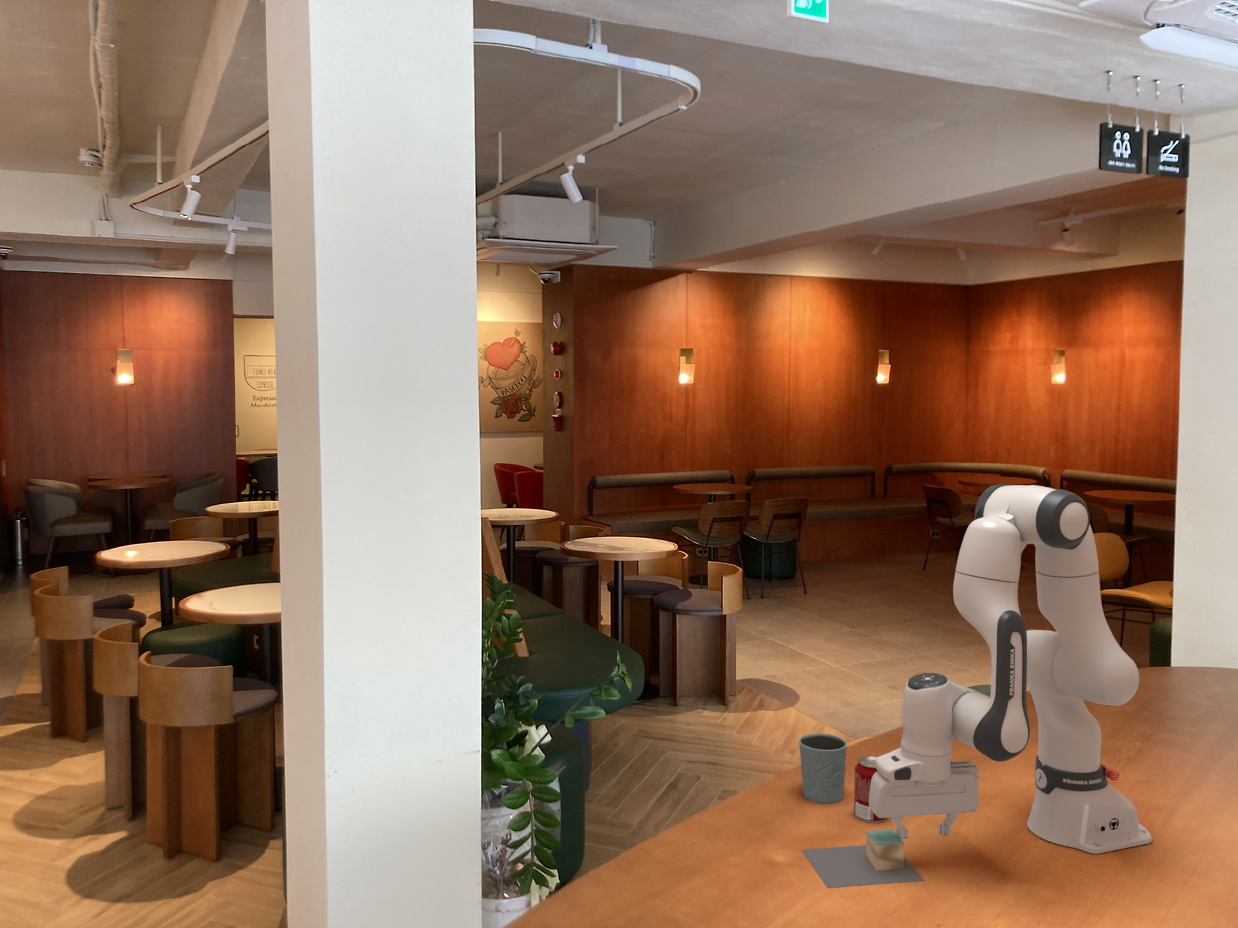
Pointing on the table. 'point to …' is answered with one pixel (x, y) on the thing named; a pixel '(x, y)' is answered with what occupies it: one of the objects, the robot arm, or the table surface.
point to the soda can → (864, 789)
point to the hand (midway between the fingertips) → (923, 835)
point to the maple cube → (884, 849)
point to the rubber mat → (854, 868)
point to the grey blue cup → (823, 767)
